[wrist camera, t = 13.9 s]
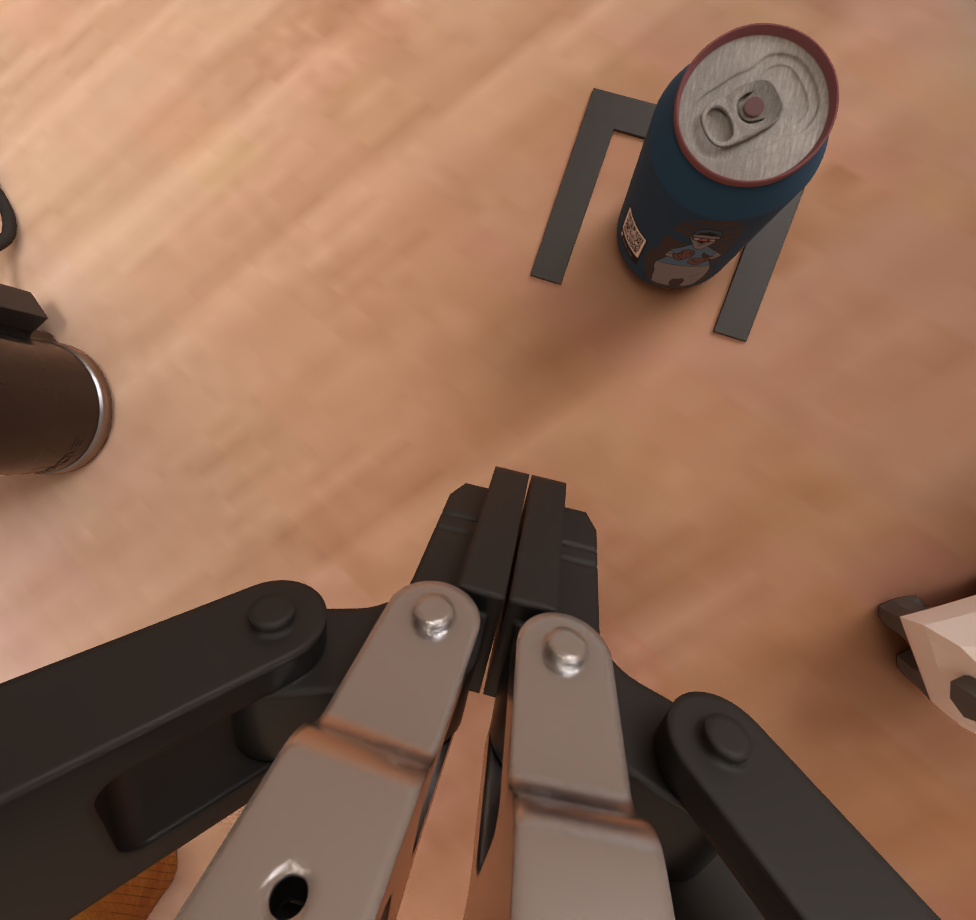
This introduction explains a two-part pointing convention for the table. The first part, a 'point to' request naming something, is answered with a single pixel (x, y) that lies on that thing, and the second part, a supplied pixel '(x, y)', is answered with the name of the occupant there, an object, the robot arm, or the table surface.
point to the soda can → (726, 152)
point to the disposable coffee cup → (134, 894)
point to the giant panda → (939, 652)
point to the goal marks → (577, 189)
